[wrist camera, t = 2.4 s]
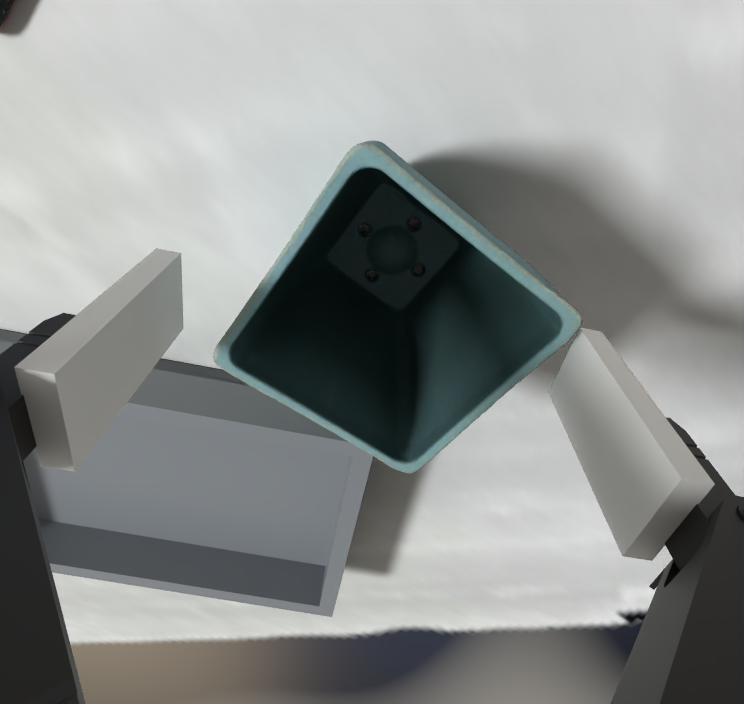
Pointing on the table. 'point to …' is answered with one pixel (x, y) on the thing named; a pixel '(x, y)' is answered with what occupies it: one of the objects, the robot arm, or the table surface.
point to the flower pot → (394, 315)
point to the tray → (206, 495)
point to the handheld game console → (4, 9)
